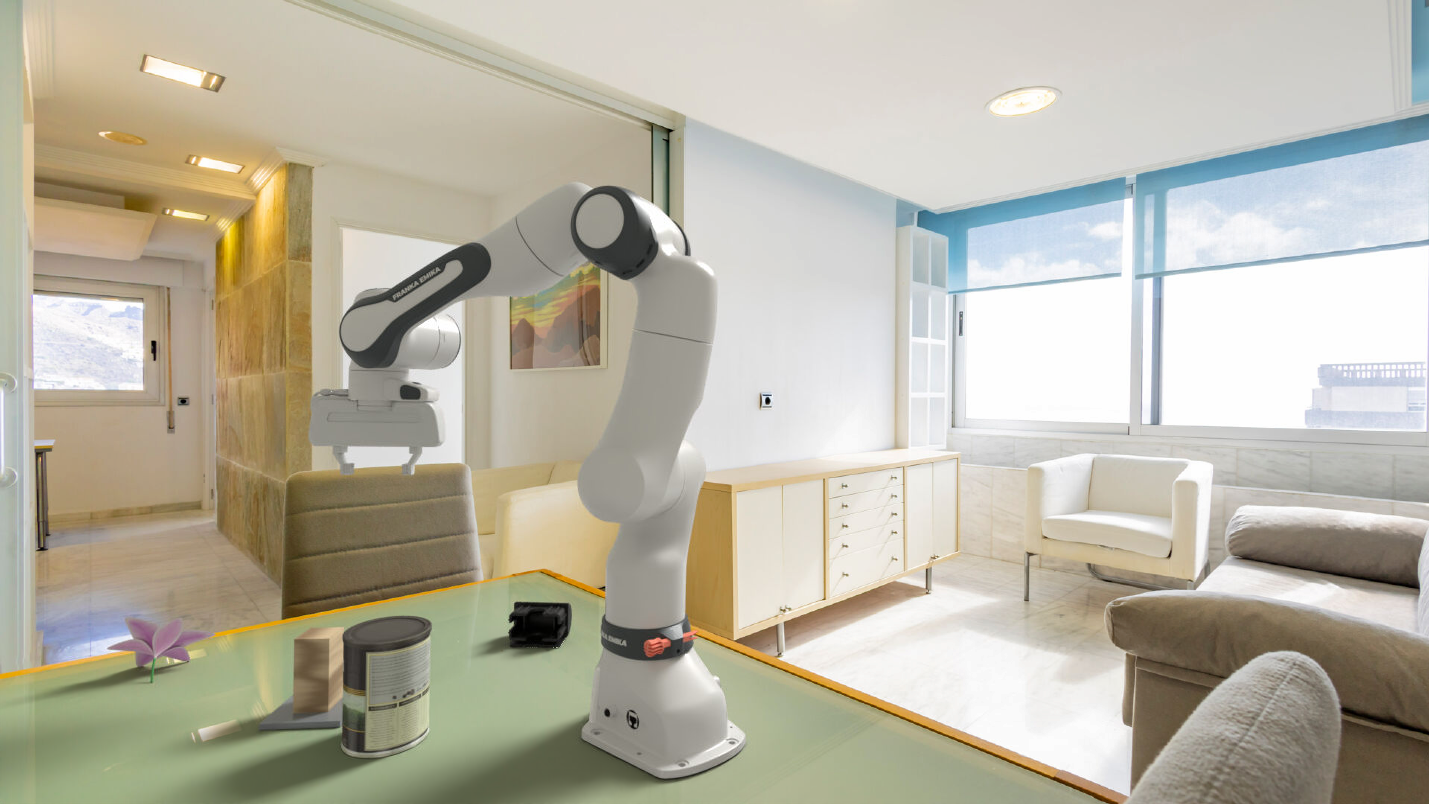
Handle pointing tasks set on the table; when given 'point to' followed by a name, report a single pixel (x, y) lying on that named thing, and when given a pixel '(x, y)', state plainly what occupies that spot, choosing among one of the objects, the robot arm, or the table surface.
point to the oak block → (318, 670)
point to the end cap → (539, 624)
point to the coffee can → (385, 686)
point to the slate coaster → (302, 718)
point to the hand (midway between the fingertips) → (377, 474)
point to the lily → (159, 640)
